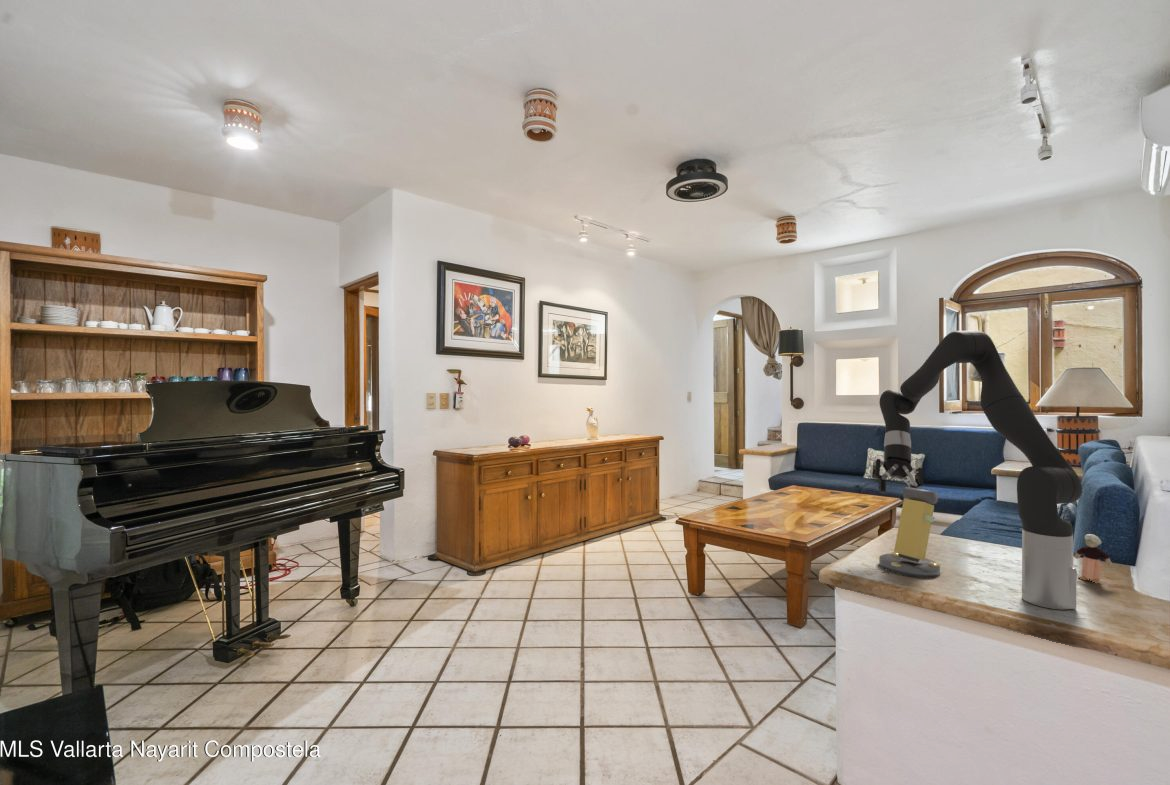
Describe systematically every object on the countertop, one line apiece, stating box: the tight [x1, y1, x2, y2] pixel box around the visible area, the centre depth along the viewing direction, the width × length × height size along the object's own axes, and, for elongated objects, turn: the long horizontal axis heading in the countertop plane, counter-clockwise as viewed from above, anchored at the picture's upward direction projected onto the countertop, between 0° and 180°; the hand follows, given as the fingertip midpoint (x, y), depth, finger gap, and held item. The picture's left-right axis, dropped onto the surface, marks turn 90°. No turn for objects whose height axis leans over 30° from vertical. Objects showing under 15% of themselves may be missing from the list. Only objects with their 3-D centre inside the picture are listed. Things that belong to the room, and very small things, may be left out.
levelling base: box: [878, 551, 941, 579], centre depth 153 cm, size 15×15×2 cm
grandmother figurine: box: [1073, 533, 1113, 584], centre depth 143 cm, size 8×4×13 cm, turn 37°
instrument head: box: [893, 486, 939, 562], centre depth 154 cm, size 5×8×21 cm, turn 29°
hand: (897, 495), depth 164 cm, fingers open, 8 cm apart
